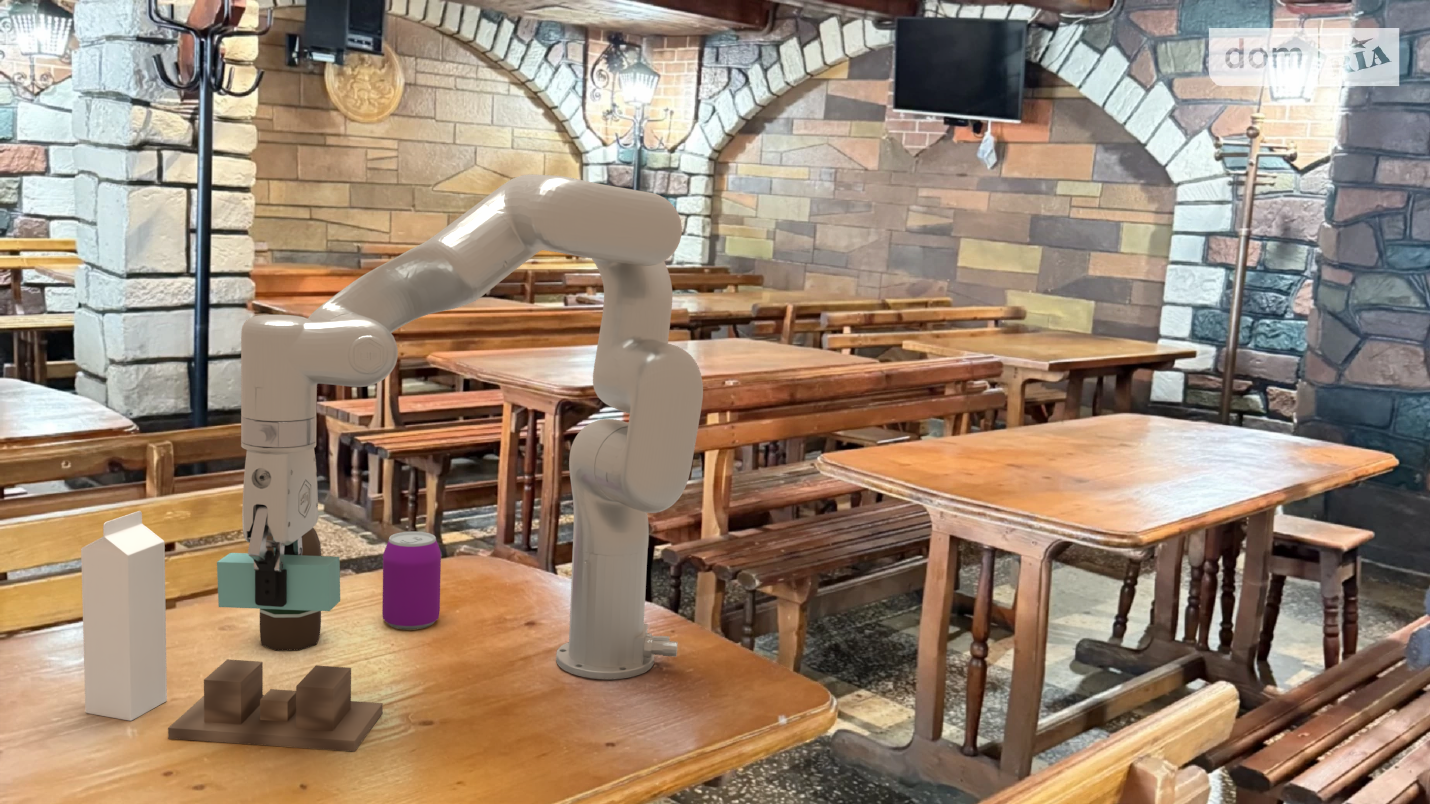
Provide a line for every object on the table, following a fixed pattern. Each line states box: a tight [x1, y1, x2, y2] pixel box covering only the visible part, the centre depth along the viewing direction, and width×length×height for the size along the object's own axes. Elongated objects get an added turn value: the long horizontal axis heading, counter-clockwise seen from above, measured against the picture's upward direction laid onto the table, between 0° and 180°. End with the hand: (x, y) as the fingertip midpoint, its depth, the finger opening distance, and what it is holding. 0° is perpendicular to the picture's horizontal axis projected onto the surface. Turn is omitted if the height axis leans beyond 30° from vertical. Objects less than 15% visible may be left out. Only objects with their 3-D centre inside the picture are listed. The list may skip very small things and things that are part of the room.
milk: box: [80, 510, 168, 722], centre depth 139 cm, size 6×6×22 cm
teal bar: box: [216, 552, 341, 612], centre depth 135 cm, size 12×4×5 cm, turn 88°
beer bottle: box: [259, 527, 322, 651], centre depth 161 cm, size 8×8×24 cm
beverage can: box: [381, 531, 442, 631], centre depth 172 cm, size 8×8×12 cm
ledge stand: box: [167, 659, 384, 753], centre depth 138 cm, size 20×10×6 cm, turn 88°
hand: (278, 597), depth 136 cm, fingers closed on teal bar, 3 cm apart
